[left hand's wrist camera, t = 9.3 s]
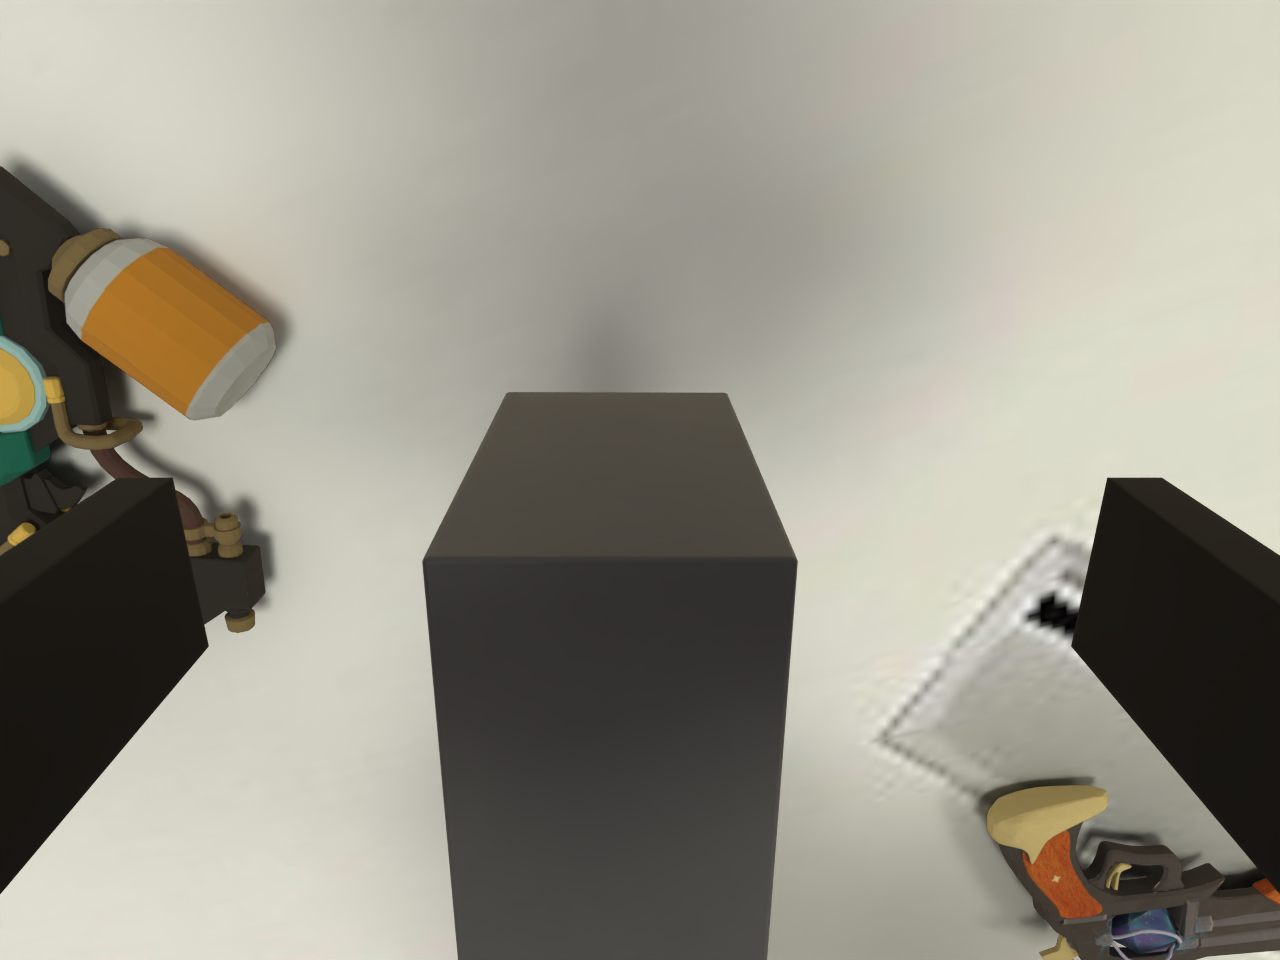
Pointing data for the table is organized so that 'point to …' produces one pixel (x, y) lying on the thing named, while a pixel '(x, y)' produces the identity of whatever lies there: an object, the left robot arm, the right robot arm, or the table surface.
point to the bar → (611, 681)
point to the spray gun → (136, 343)
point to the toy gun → (1123, 887)
